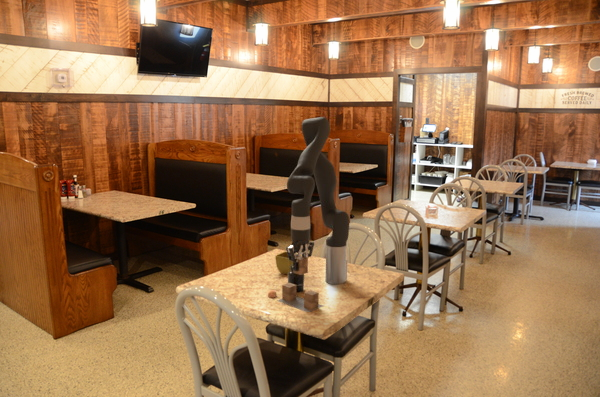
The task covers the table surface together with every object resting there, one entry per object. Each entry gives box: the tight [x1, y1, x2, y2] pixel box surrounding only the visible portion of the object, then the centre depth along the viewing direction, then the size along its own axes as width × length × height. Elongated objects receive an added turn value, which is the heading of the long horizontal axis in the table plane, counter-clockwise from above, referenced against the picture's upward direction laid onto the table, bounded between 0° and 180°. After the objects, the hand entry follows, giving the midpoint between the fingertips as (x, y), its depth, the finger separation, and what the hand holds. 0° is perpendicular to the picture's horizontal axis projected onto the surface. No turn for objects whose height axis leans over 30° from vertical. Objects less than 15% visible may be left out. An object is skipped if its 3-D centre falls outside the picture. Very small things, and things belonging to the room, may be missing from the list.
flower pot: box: [274, 251, 297, 276], centre depth 232 cm, size 9×9×9 cm
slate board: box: [277, 295, 324, 313], centre depth 193 cm, size 9×17×1 cm, turn 46°
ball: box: [267, 289, 277, 299], centre depth 200 cm, size 4×4×4 cm
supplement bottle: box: [287, 265, 305, 294], centre depth 206 cm, size 7×7×12 cm
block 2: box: [303, 289, 320, 311], centre depth 188 cm, size 4×4×6 cm
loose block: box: [293, 255, 309, 275], centre depth 190 cm, size 4×4×6 cm
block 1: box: [281, 282, 297, 302], centre depth 196 cm, size 4×4×6 cm
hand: (300, 269), depth 190 cm, fingers closed on loose block, 4 cm apart
